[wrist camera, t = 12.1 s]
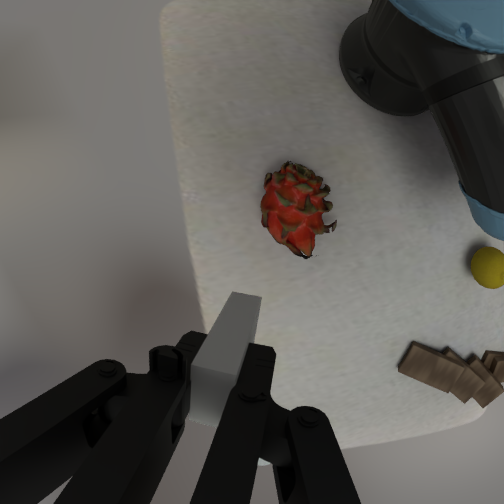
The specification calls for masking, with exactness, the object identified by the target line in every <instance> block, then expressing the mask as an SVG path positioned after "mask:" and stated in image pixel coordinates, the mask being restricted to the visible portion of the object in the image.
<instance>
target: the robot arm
mask: <svg viewBox="0 0 504 504" xmlns="http://www.w3.org/2000/svg"><path fill="white" fill-rule="evenodd" d="M339 60H340V66H341V69H342V72H343V75H344V77H345V79H346V81H347V82H348V84H349V85H350V87H351V88H352V89H353V91H354V92H355V93H356V94H357V95H358V96H359V97H360V98H361V99H362V100H363V101H365V102H366V103H367V104H369V105H370V106H372V107H374V108H376V109H377V110H380V111H382V112H385V113H388V114H391V115H396V116H412V115H417V114H420V113H422V112H424V111H427V110H429V109H430V111H431V113H432V115H433V117H434V119H435V122H436V124H437V126H438V128H439V130H440V133H441V135H442V137H443V140H444V142H445V144H446V147H447V149H448V152H449V154H450V157H451V159H452V162H453V164H454V167H455V170H456V172H457V175H458V178H459V186H460V189H461V191H462V193H463V194H464V195H465V197H466V199H467V202H468V205H469V208H470V210H471V213H472V216H473V218H474V220H475V222H476V223H477V225H479V226H480V227H481V228H482V229H483V230H484V232H486V233H487V234H489V235H490V236H492V237H494V238H497V239H499V240H502V241H504V0H372V3H371V5H370V8H369V11H368V13H366V14H364V15H362V16H360V17H358V18H357V19H355V20H354V21H353V22H352V23H351V24H350V25H349V26H348V28H347V29H346V31H345V33H344V35H343V38H342V41H341V44H340V49H339ZM261 299H262V297H258V296H253V295H248V294H243V293H237V292H232V293H231V295H230V297H229V298H228V300H227V302H226V304H225V305H224V307H223V309H222V311H221V313H220V314H219V316H218V318H217V320H216V321H215V323H214V325H213V327H212V328H211V330H210V332H209V334H204V333H200V332H195V331H190V332H188V333H186V334H185V335H183V336H182V338H181V339H180V341H179V343H177V345H176V346H175V347H174V346H168V345H164V346H157V347H154V348H153V349H151V350H150V351H149V366H150V370H149V372H148V373H147V374H135V373H126V369H125V367H124V365H123V364H122V363H120V362H118V361H116V360H110V359H105V360H99V361H97V362H95V363H93V364H91V365H90V366H88V367H86V368H85V369H84V370H82V371H80V372H78V373H77V374H75V375H73V376H72V377H70V378H68V379H67V380H65V381H64V382H62V383H60V384H58V385H57V386H55V387H53V388H52V389H50V390H48V391H47V392H45V393H43V394H42V395H40V396H38V397H37V398H35V399H34V400H32V401H30V402H28V403H27V404H25V405H23V406H22V407H20V408H18V409H17V410H15V411H13V412H12V413H10V414H8V415H7V416H5V417H3V418H2V419H0V504H38V503H39V502H40V501H41V500H43V499H44V498H45V497H46V496H48V495H49V494H50V493H52V492H53V491H54V490H55V489H57V488H58V487H59V486H61V485H62V484H63V483H64V482H66V481H67V480H68V479H69V478H71V477H72V476H73V477H72V478H71V479H70V481H69V482H68V484H67V485H66V487H65V488H64V489H63V491H62V492H61V494H60V495H59V497H58V498H57V499H56V501H55V502H54V504H150V502H151V500H152V498H153V496H154V494H155V491H156V489H157V487H158V485H159V483H160V481H161V479H162V477H163V474H164V472H165V470H166V468H167V466H168V464H169V462H170V459H171V457H172V455H173V453H174V451H175V449H176V446H177V444H178V442H179V440H180V437H181V436H182V434H183V431H184V427H185V418H186V417H187V415H188V412H189V420H190V421H194V422H198V423H202V424H206V425H209V426H213V427H217V430H216V433H215V436H214V439H213V441H212V444H211V447H210V450H209V452H208V455H207V458H206V461H205V463H204V466H203V469H202V472H201V474H200V477H199V480H198V482H197V485H196V488H195V491H194V493H193V496H192V499H191V501H190V504H250V499H251V495H252V490H253V485H254V480H255V475H256V470H257V465H258V460H259V458H261V459H263V460H265V461H267V462H269V463H272V464H273V472H274V478H275V483H276V489H277V494H278V500H279V504H361V502H360V499H359V497H358V494H357V491H356V489H355V486H354V484H353V481H352V478H351V476H350V473H349V471H348V468H347V465H346V463H345V460H344V458H343V455H342V452H341V450H340V447H339V445H338V442H337V439H336V437H335V434H334V432H333V429H332V427H331V424H330V422H329V419H328V417H327V416H326V414H325V413H323V412H322V411H321V410H319V409H317V408H314V407H310V406H301V407H296V408H295V409H293V410H291V411H290V410H287V409H285V408H283V407H281V406H279V405H278V404H276V403H275V402H274V401H273V399H272V397H271V395H270V390H271V384H272V378H273V372H274V366H275V359H276V353H275V351H274V349H273V347H270V346H265V345H260V344H254V339H255V334H256V328H257V322H258V316H259V310H260V304H261Z"/></svg>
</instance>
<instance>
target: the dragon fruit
mask: <svg viewBox="0 0 504 504" xmlns="http://www.w3.org/2000/svg"><path fill="white" fill-rule="evenodd" d="M288 161H289V160H288ZM288 161H287V162H286V163H284V164H283V165H282V167H281V170H280V171H279V172H274V173H273V175H272V173H267V174H266V177H265V182H264V189H265V190H266V194H265V195H264V196H263V198H262V200H261V211H262V213H263V214H262V220H261V223H262V225H263V227H265V228H267V229H268V231H269V232H270V234H271V235H272V236H273V238H275V240H276V241H277V242H278V243H279V244H283V245H285V246H287V247H288V248H289V249H290V250H291V251H292V252H293V253H294V254H295V255H297V256H300V257H303V258H304V259H308V258H309V257H311V256H313V255H311V254H312V251H313V249H314V246H315V235H317V234H323V232H324V233H330V232H329V229H328V228H331V227H332V232H333V231H334V230H335V228H336V223H337V220H336V221H335V222H333V223H332V224H330V225H324V223H323V220H322V214H323V213H324V212H329V211H330V210H331V209H332V208H333V204H332V202H330V201H325V200H324V199H323V198H324V197H326V196H327V195H328V194H329V192H330V187H329V186H328V185H326V184H325V187H324V188H323V189H319V188H320V186H321V184H322V181H323V178H322V177H320V176H315V173H314V172H313V171H312V170H309V169H307V168H306V167H305V166H303V165H300V164H296V163H295V164H294V165H293V163H292V164H289V162H291V161H289V162H288ZM322 200H323V201H322ZM323 202H324V203H323ZM300 250H301V251H302V252H303V253H304V254H305V255H307V256H305V255H303V253H301V251H300ZM316 256H317V255H316ZM316 256H315V257H316ZM318 256H319V255H318Z"/></svg>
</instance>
